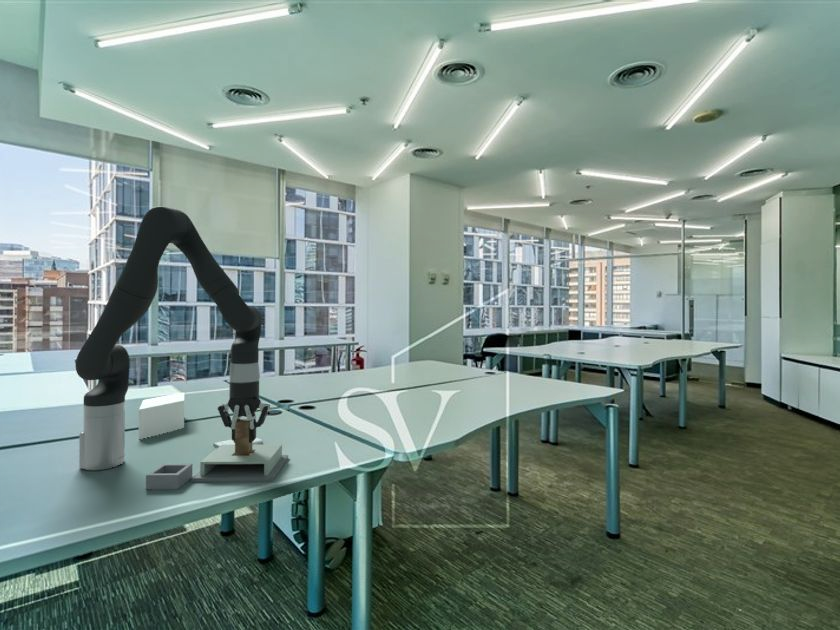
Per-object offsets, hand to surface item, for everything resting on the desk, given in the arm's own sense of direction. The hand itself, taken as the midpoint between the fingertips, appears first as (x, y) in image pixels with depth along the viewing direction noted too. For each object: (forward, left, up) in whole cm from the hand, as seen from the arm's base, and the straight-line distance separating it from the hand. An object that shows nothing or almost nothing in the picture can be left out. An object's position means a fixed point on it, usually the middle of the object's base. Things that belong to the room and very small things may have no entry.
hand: (244, 441), depth 118 cm
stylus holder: (-15, -9, -8) cm, 19 cm away
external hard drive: (-9, +22, -8) cm, 25 cm away
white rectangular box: (-42, +41, -8) cm, 59 cm away
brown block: (0, 0, -3) cm, 3 cm away
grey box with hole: (0, 0, -8) cm, 8 cm away
